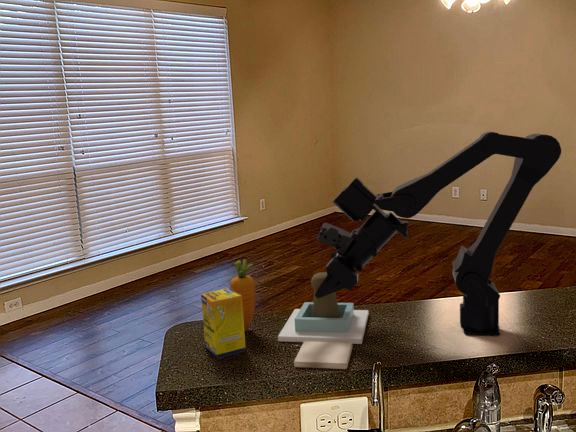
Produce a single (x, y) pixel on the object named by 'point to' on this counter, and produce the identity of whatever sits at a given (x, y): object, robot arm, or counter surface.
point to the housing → (325, 325)
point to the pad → (324, 355)
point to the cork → (324, 300)
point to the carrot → (245, 291)
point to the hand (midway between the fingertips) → (317, 292)
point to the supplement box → (223, 322)
